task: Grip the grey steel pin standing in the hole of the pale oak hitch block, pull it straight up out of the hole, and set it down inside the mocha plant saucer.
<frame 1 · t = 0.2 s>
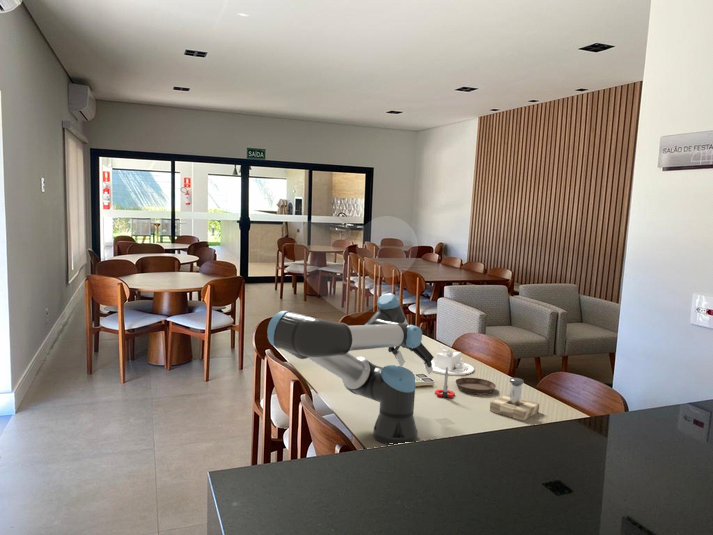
hand: (416, 367, 212), 16 cm above the table, tool tilted 35°, fingers open, 13 cm apart
tow hook: (444, 395, 230), on the table
steel pin: (515, 395, 212), in the oak hitch block
plant saucer: (475, 390, 239), on the table
dish: (448, 369, 270), on the table
oak hitch block: (514, 411, 213), on the table
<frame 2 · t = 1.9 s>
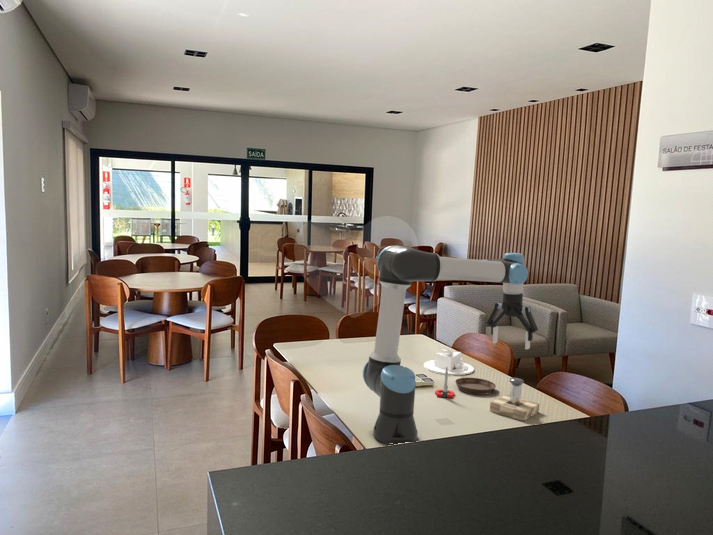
hand: (510, 345, 211), 26 cm above the table, tool pointing down, fingers open, 13 cm apart
nothing on the table moved.
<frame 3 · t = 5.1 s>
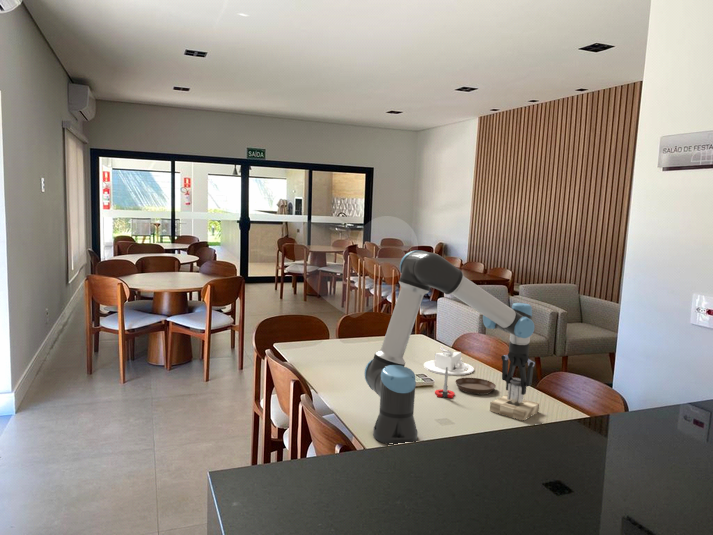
hand: (515, 400, 212), 5 cm above the table, tool pointing down, fingers closed on steel pin, 4 cm apart
steel pin: (515, 395, 212), in the oak hitch block, touching gripper
everything else where it was.
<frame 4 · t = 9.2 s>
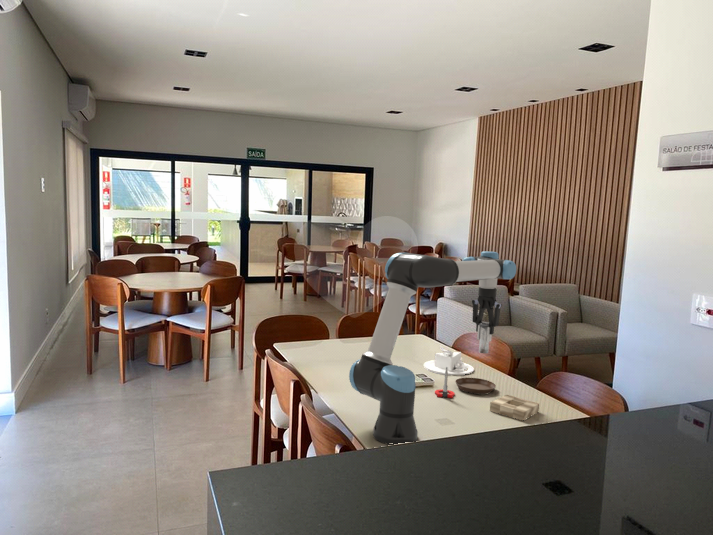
hand: (484, 340, 233), 23 cm above the table, tool pointing down, fingers closed on steel pin, 4 cm apart
steel pin: (484, 337, 233), point 24 cm above the table, touching gripper
everything else where it was.
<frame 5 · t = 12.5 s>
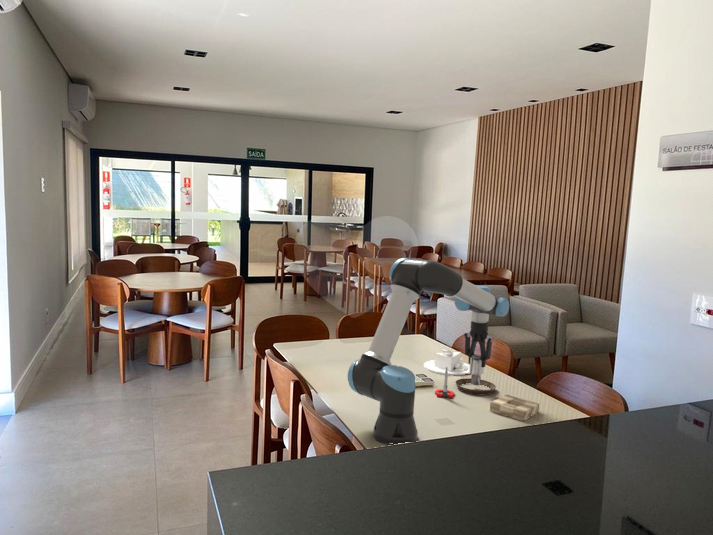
hand: (476, 372, 238), 7 cm above the table, tool pointing down, fingers closed on steel pin, 4 cm apart
steel pin: (476, 369, 238), point 9 cm above the table, touching gripper, plant saucer
plant saucer: (475, 390, 239), on the table, touching steel pin
everything else where it was.
when the fingers open (7 cm above the table, at t = 13.2 s): steel pin stays where it is, resting on plant saucer.
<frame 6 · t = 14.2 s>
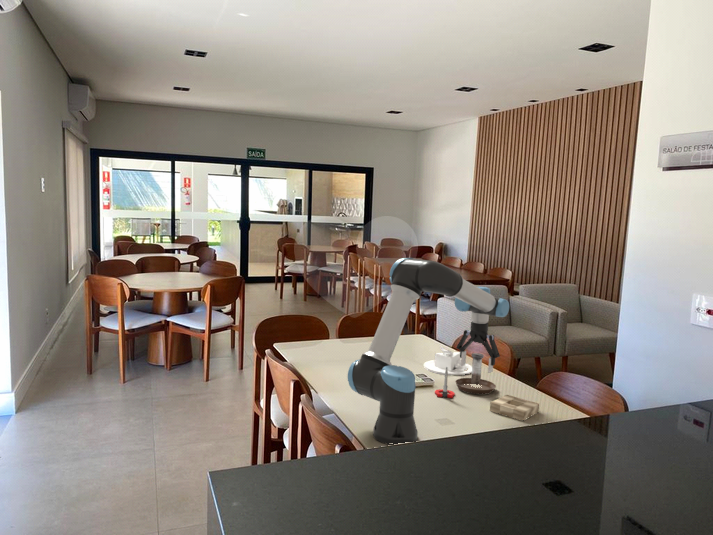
hand: (476, 368, 238), 9 cm above the table, tool pointing down, fingers open, 13 cm apart
steel pin: (476, 368, 238), point 9 cm above the table, touching plant saucer
everything else where it was.
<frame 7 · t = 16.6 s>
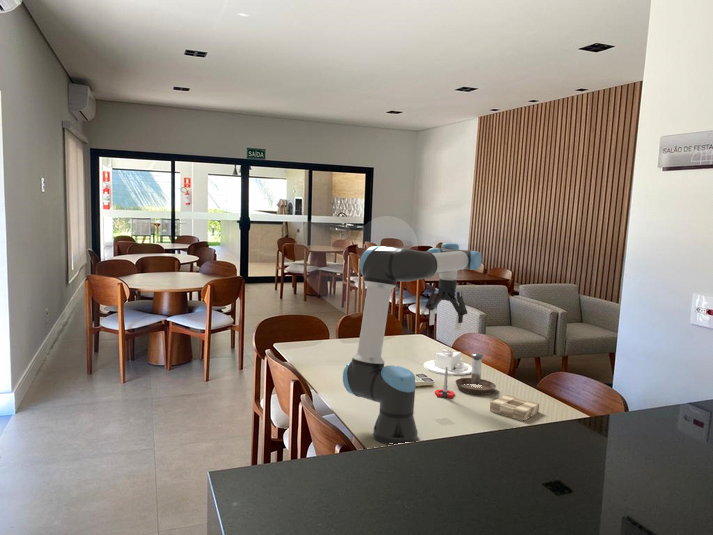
hand: (444, 327, 233), 28 cm above the table, tool pointing down, fingers open, 13 cm apart
nothing on the table moved.
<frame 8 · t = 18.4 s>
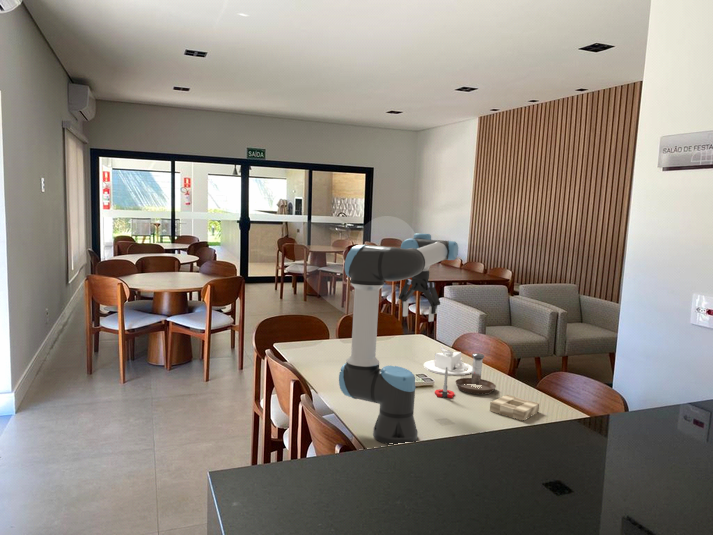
hand: (417, 318, 230), 32 cm above the table, tool pointing down, fingers open, 13 cm apart
nothing on the table moved.
at the end: steel pin 0.2 cm from the plant saucer (horizontally); steel pin touching plant saucer; the gripper is holding nothing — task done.
